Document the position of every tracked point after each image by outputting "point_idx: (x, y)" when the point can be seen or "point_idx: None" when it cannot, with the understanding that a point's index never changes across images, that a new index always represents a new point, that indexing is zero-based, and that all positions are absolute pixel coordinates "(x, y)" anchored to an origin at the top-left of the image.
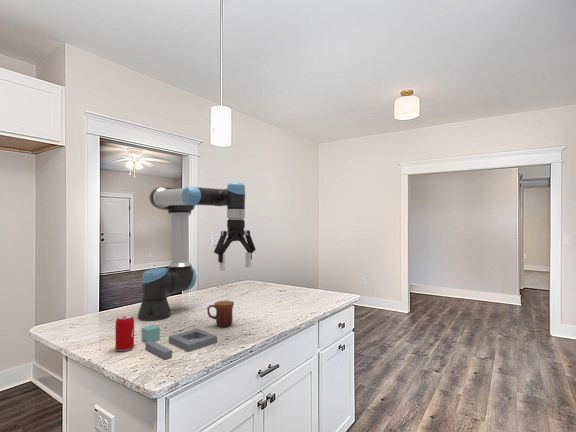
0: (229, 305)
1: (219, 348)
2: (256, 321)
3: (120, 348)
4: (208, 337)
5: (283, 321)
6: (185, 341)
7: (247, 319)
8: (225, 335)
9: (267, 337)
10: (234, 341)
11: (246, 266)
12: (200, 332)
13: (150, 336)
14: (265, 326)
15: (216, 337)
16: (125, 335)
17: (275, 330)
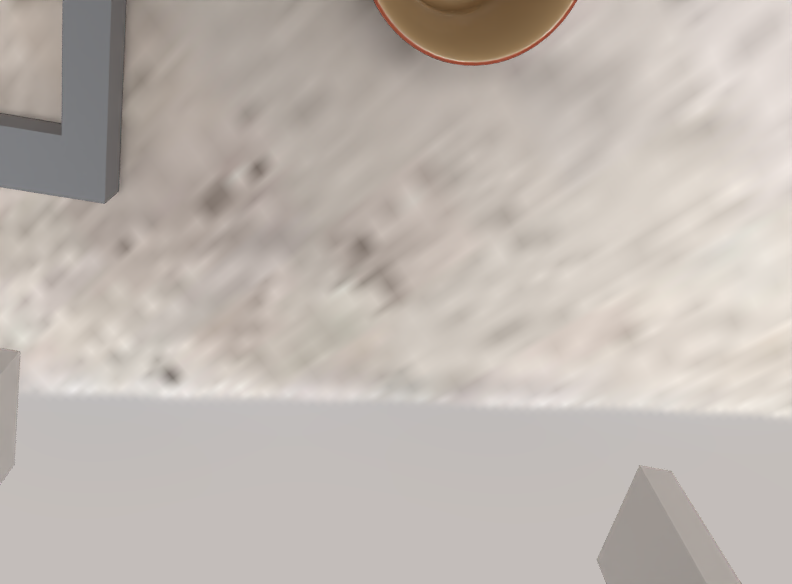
0: (439, 57)
1: (58, 276)
2: (668, 130)
3: None
4: (41, 169)
5: (749, 308)
6: None
7: (690, 22)
8: (258, 142)
9: (391, 397)
10: (208, 275)
11: (631, 503)
12: (70, 24)
13: None
14: (582, 265)
15: (101, 199)
16: None
17: (535, 367)
